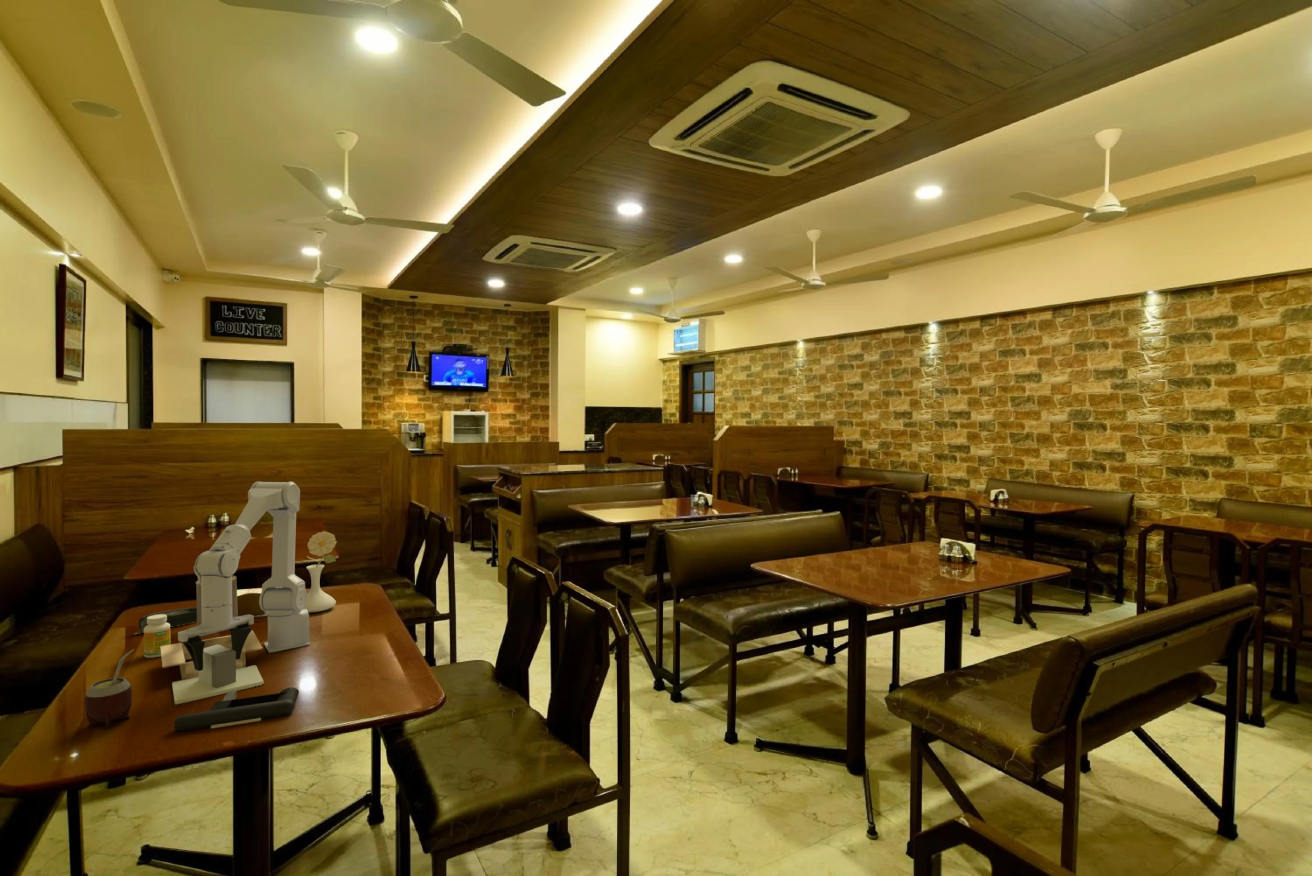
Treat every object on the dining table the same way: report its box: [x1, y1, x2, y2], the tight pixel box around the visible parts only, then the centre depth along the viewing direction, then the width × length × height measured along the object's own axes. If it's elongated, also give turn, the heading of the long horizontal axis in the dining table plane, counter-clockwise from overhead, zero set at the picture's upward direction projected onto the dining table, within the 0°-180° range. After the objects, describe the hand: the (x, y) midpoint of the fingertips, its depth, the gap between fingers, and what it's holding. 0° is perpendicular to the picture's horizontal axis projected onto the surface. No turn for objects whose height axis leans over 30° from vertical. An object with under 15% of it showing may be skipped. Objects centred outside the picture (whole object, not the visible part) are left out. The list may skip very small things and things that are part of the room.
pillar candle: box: [195, 574, 239, 626], centre depth 183 cm, size 10×10×15 cm
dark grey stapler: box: [133, 606, 197, 636], centre depth 181 cm, size 5×3×15 cm
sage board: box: [171, 664, 265, 705], centre depth 143 cm, size 16×12×1 cm
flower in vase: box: [303, 531, 337, 613], centre depth 198 cm, size 13×11×25 cm
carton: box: [160, 629, 263, 680], centre depth 154 cm, size 19×16×4 cm
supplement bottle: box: [143, 614, 172, 659], centre depth 161 cm, size 5×5×10 cm
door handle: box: [174, 687, 300, 732], centre depth 131 cm, size 3×20×16 cm
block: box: [199, 645, 236, 688], centre depth 143 cm, size 4×8×7 cm, turn 59°
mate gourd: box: [83, 648, 135, 730], centre depth 125 cm, size 8×8×15 cm
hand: (217, 663), depth 142 cm, fingers open, 7 cm apart
